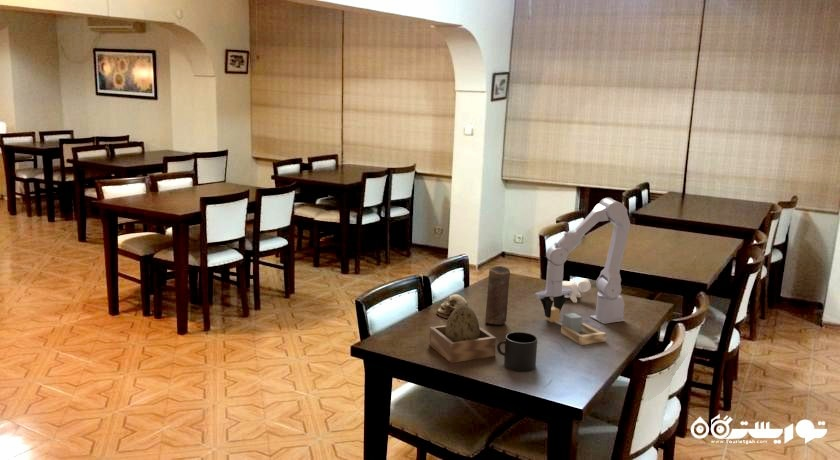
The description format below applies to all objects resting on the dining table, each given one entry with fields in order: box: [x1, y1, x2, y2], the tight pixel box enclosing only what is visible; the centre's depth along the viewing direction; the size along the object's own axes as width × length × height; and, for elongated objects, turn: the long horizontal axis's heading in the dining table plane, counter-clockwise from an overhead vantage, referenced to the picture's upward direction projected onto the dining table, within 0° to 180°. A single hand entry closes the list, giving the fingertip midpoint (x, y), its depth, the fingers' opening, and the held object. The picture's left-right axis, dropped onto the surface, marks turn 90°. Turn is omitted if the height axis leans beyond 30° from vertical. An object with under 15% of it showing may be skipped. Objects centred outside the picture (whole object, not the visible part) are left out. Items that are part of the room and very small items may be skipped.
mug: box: [496, 331, 538, 373], centre depth 211 cm, size 9×12×9 cm
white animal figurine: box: [562, 278, 592, 304], centre depth 277 cm, size 9×8×15 cm
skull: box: [436, 293, 469, 319], centre depth 255 cm, size 12×10×10 cm
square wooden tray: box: [428, 324, 497, 364], centre depth 221 cm, size 15×15×6 cm
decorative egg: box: [445, 305, 481, 342], centre depth 220 cm, size 11×11×15 cm
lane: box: [560, 322, 607, 346], centre depth 236 cm, size 10×12×3 cm
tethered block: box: [545, 306, 583, 334], centre depth 246 cm, size 4×15×6 cm, turn 24°
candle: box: [484, 265, 511, 326], centre depth 245 cm, size 8×7×20 cm
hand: (551, 316), depth 252 cm, fingers closed on tethered block, 3 cm apart
